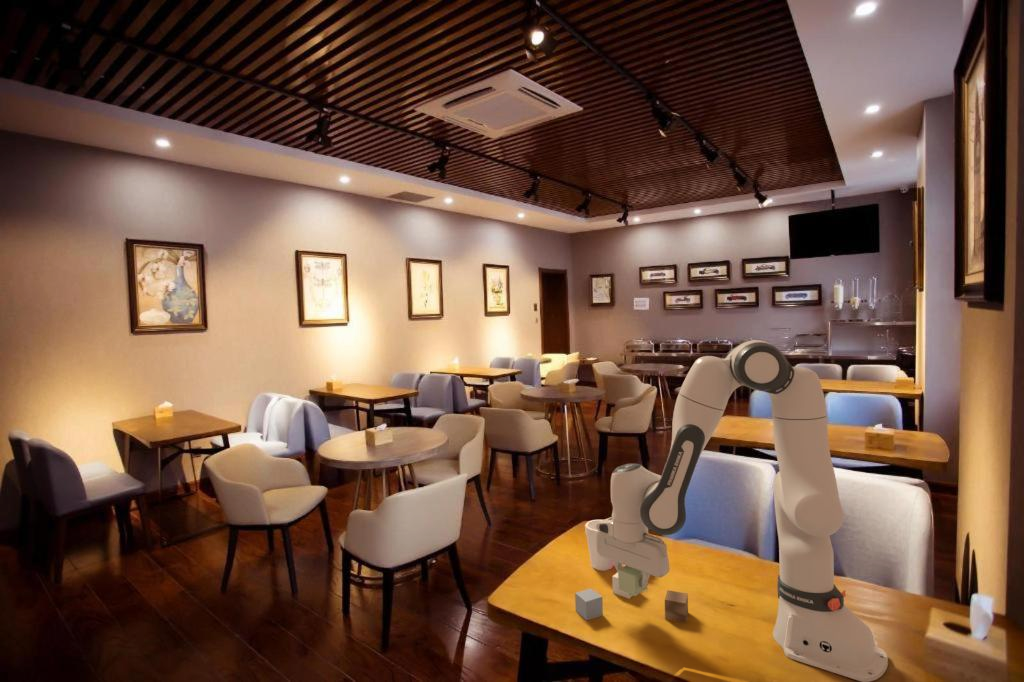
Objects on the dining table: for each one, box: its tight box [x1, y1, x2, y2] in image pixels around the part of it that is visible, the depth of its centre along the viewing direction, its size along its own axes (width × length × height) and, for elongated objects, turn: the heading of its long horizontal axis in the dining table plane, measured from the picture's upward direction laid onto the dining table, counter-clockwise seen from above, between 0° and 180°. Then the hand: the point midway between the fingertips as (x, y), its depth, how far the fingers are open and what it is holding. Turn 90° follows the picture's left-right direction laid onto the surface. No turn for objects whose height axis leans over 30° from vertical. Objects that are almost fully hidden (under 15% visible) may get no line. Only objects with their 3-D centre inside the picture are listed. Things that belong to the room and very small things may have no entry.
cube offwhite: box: [611, 571, 634, 600], centre depth 149 cm, size 5×5×5 cm
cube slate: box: [574, 588, 604, 621], centre depth 139 cm, size 5×5×5 cm
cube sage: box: [618, 565, 648, 597], centre depth 137 cm, size 5×5×5 cm
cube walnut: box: [664, 589, 689, 624], centre depth 137 cm, size 5×5×5 cm
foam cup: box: [584, 519, 614, 572], centre depth 164 cm, size 10×9×13 cm
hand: (632, 582), depth 137 cm, fingers closed on cube sage, 5 cm apart
